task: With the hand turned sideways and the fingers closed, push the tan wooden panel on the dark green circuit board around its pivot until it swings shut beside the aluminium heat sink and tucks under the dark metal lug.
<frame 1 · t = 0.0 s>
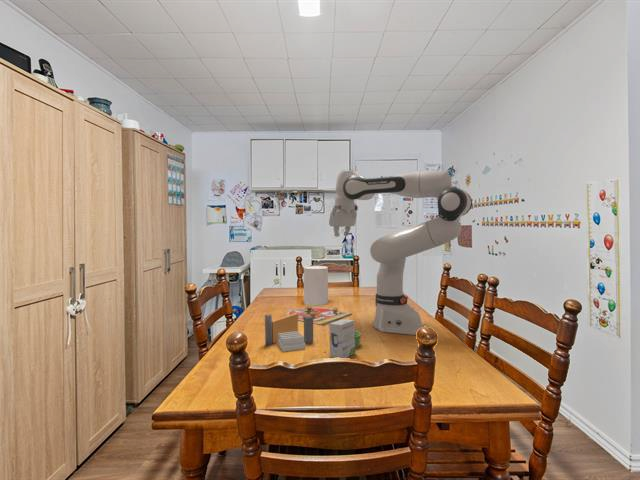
hand: (341, 236, 171), 39 cm above the table, tool pointing down, fingers open, 8 cm apart
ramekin: (348, 345, 138), on the table
knob puzzle: (312, 317, 181), on the table
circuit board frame: (288, 345, 138), on the table
tan wooden panel: (284, 327, 142), point 5 cm above the table, hinge at 0.0°
canister: (316, 303, 209), on the table
ink box: (342, 356, 127), on the table
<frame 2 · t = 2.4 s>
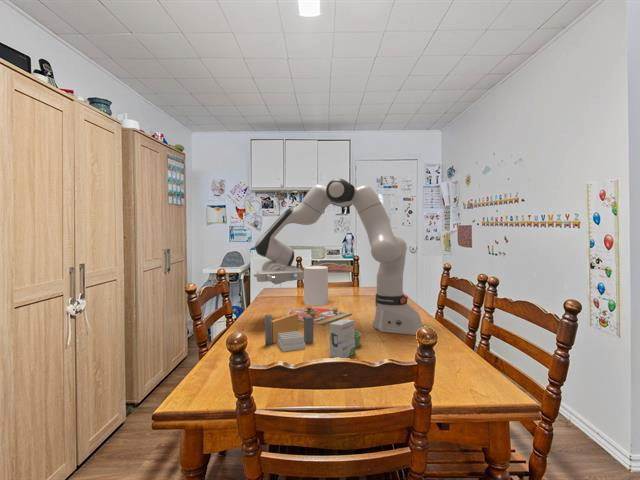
hand: (284, 278, 152), 23 cm above the table, tool horizontal, fingers open, 8 cm apart
nothing on the table moved.
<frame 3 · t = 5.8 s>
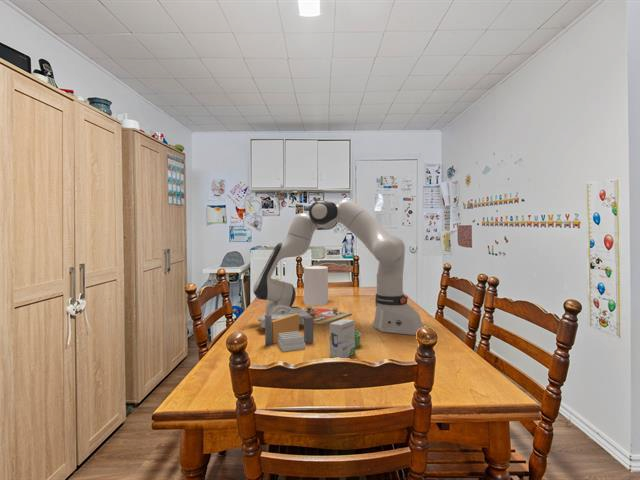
hand: (289, 324, 146), 5 cm above the table, tool horizontal, fingers closed
tan wooden panel: (285, 327, 142), point 5 cm above the table, hinge at -2.2°, touching gripper
everything else where it was.
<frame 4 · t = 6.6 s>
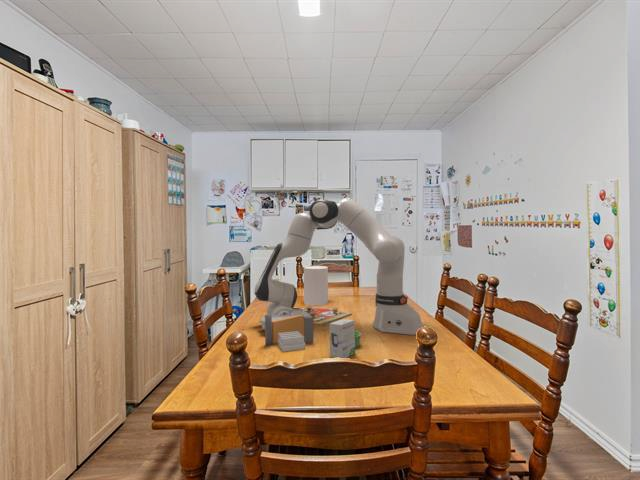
hand: (291, 326, 144), 5 cm above the table, tool horizontal, fingers closed
tan wooden panel: (287, 328, 141), point 5 cm above the table, hinge at -12.3°, touching gripper
everything else where it was.
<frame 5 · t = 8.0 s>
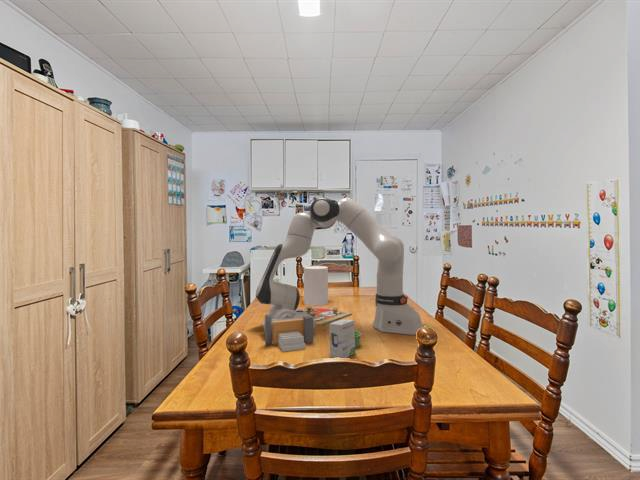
hand: (294, 329, 139), 5 cm above the table, tool horizontal, fingers closed, pressing on tan wooden panel
tan wooden panel: (291, 330, 138), point 5 cm above the table, hinge at -34.6°, touching gripper
everything else where it was.
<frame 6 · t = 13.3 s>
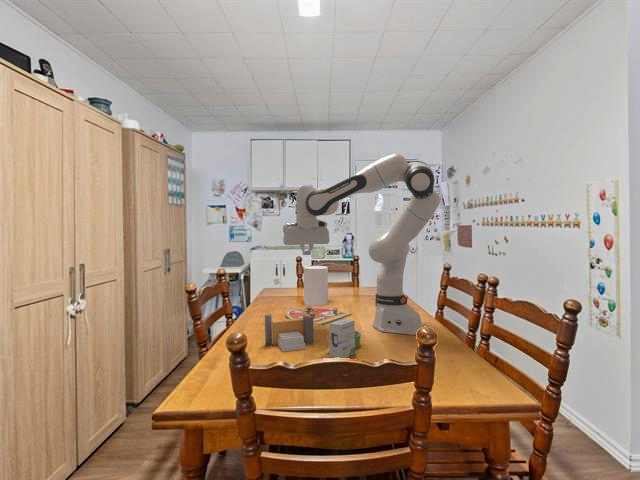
hand: (306, 255, 162), 31 cm above the table, tool pointing down, fingers closed
tan wooden panel: (291, 330, 138), point 5 cm above the table, hinge at -34.6°
everything else where it was.
at the end: tan wooden panel at -35° (first picture: +0°) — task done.
